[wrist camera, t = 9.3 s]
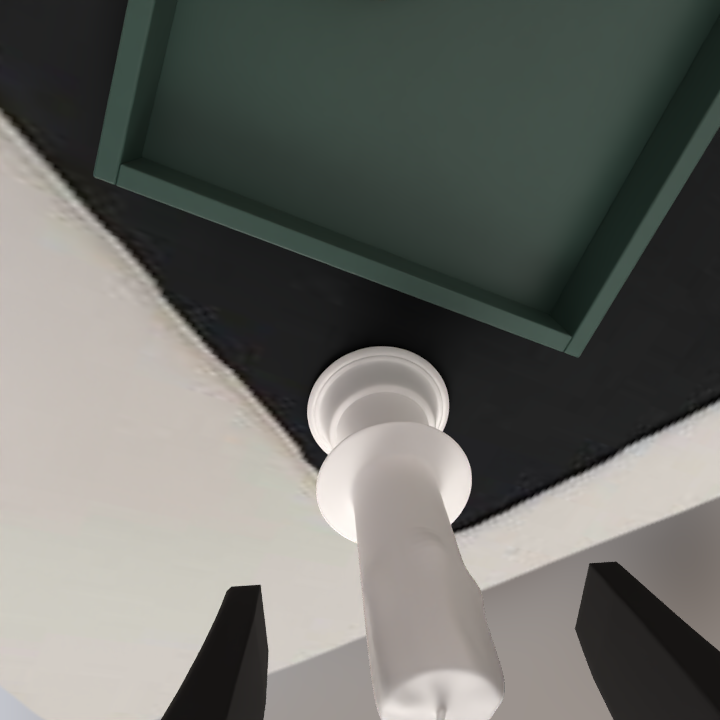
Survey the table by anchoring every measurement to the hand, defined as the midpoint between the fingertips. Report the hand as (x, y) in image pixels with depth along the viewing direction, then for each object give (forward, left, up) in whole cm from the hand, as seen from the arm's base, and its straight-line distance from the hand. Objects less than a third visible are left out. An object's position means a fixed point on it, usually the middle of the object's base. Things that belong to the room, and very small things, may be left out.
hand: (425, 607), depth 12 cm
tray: (-3, +12, -10) cm, 15 cm away
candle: (0, 0, -10) cm, 10 cm away
